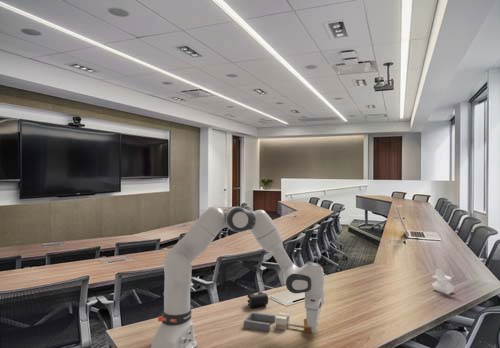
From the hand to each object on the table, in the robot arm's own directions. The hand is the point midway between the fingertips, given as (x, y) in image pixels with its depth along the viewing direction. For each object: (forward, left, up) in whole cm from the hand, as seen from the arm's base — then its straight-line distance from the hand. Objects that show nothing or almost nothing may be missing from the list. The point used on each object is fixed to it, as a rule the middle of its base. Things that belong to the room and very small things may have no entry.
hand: (314, 328), depth 152 cm
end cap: (+21, +34, -2) cm, 40 cm away
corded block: (+1, +9, -2) cm, 10 cm away
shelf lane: (0, +26, -2) cm, 26 cm away
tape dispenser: (+78, -68, -2) cm, 103 cm away
